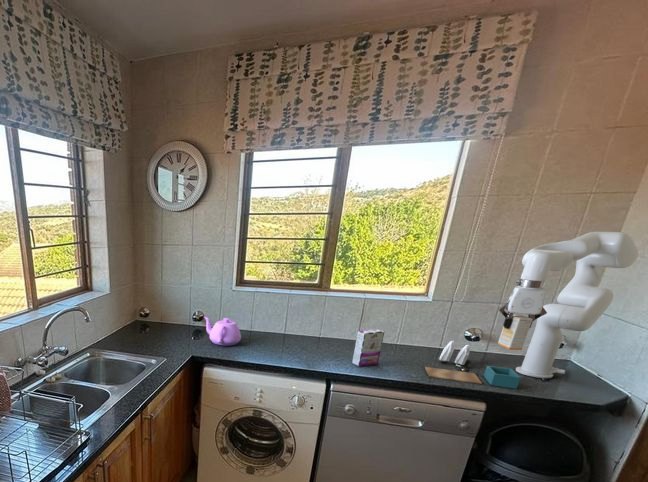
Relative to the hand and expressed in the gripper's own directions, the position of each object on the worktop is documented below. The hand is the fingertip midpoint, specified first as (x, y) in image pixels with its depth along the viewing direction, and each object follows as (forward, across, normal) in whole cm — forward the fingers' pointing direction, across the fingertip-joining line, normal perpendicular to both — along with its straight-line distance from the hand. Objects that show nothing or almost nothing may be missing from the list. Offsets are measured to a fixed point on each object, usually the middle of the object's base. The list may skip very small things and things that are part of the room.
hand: (515, 328), depth 164 cm
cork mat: (+24, -16, 0) cm, 29 cm away
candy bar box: (+24, -51, -1) cm, 56 cm away
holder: (+24, +1, 0) cm, 24 cm away
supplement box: (+8, 0, 0) cm, 8 cm away
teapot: (+23, -123, +3) cm, 125 cm away
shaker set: (+24, -13, +20) cm, 34 cm away
